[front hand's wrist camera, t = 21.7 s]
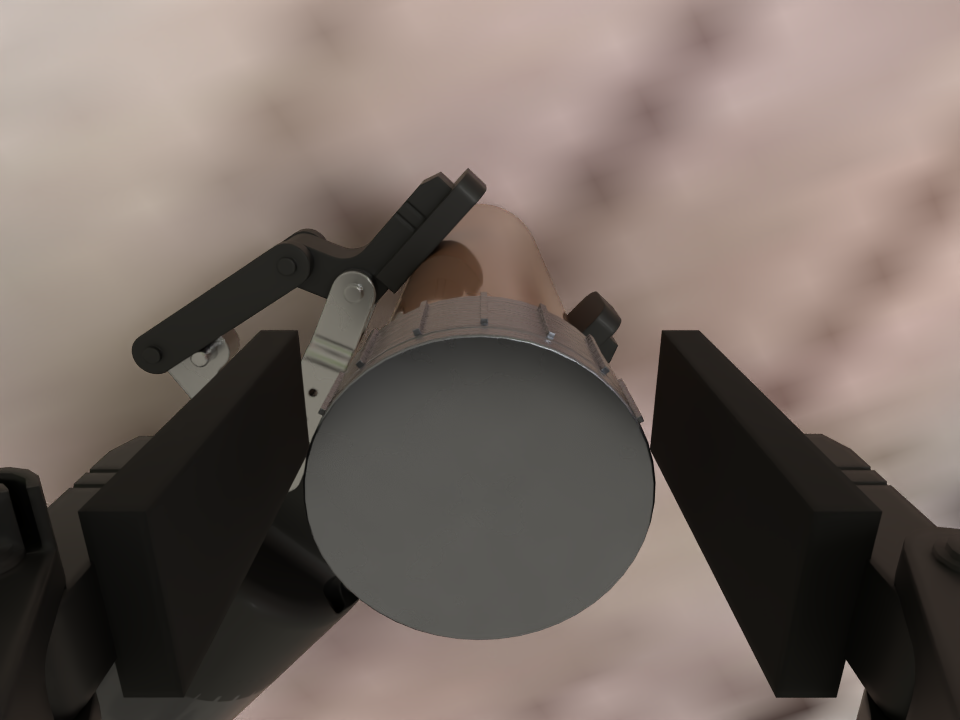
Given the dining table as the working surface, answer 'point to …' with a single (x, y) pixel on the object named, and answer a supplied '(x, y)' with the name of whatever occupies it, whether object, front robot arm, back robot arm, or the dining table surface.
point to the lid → (479, 471)
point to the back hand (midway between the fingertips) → (542, 245)
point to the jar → (483, 265)
